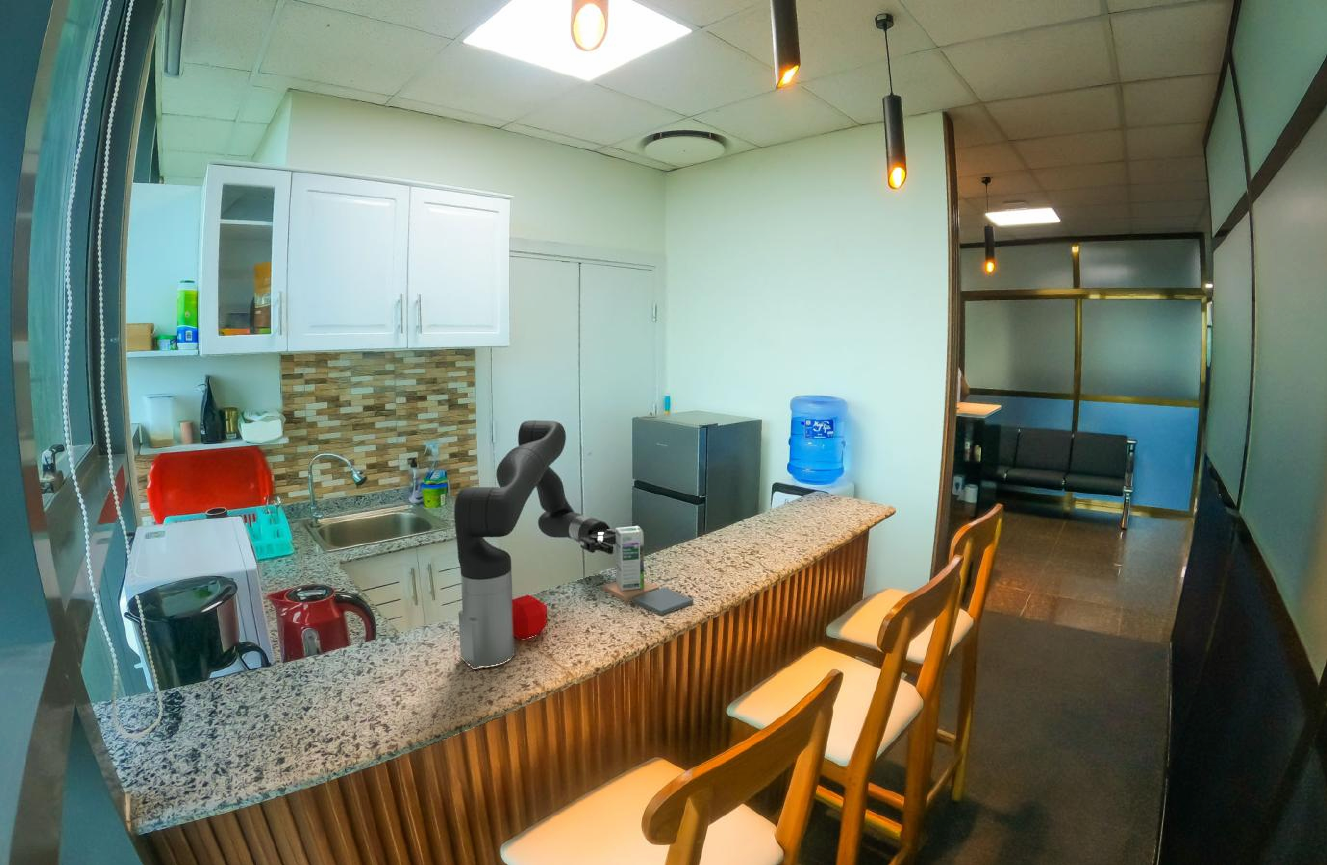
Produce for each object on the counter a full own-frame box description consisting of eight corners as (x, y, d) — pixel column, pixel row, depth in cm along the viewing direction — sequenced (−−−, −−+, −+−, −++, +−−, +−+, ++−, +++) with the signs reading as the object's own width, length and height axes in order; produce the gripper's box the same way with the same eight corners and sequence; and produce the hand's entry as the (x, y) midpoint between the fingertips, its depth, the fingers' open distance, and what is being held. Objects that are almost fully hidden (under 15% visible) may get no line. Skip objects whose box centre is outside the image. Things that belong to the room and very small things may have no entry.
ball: (553, 634, 129) (552, 599, 128) (519, 647, 124) (518, 610, 123) (532, 622, 135) (531, 589, 134) (499, 634, 130) (497, 599, 129)
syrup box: (621, 591, 150) (620, 533, 148) (616, 582, 155) (615, 526, 153) (644, 589, 151) (644, 531, 149) (638, 580, 157) (638, 524, 155)
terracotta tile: (626, 601, 146) (626, 597, 146) (601, 589, 154) (601, 585, 153) (659, 590, 153) (659, 586, 152) (633, 579, 160) (633, 575, 160)
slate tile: (660, 615, 139) (660, 611, 138) (632, 601, 146) (632, 597, 146) (693, 603, 145) (693, 599, 145) (664, 590, 152) (664, 587, 152)
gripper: (565, 523, 160) (602, 537, 148) (610, 513, 169) (648, 526, 157) (566, 551, 161) (602, 567, 149) (611, 539, 170) (649, 554, 158)
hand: (626, 546), depth 153 cm, fingers open, 8 cm apart
